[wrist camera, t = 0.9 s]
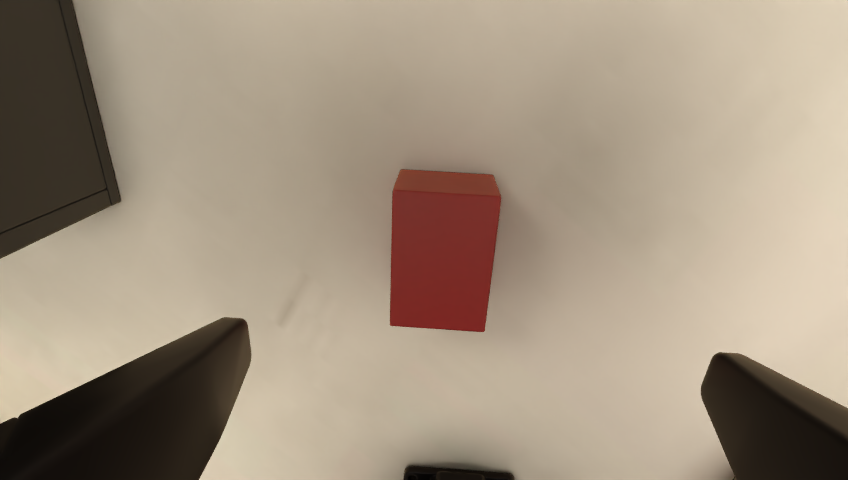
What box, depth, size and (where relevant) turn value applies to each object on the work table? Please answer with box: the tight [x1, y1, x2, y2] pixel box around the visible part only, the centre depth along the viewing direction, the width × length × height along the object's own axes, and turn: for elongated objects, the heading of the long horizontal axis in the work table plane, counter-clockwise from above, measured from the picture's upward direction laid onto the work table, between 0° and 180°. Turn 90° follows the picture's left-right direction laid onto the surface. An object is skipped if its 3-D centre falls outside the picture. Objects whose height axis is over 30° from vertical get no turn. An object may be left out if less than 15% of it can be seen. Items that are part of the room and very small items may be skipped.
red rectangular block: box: [390, 169, 501, 332], centre depth 19 cm, size 6×4×3 cm, turn 177°
